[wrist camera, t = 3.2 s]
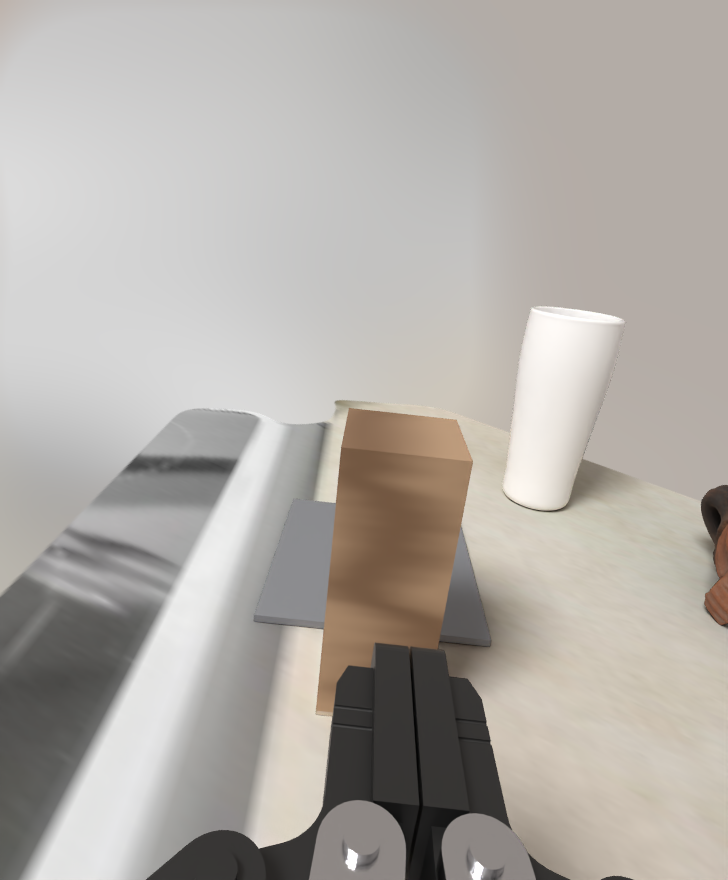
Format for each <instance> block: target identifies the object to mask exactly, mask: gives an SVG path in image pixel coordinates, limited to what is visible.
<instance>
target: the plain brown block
mask: <svg viewBox="0 0 728 880" xmlns="http://www.w3.org/2000/svg"><path fill="white" fill-rule="evenodd" d="M472 464H473V460H472V458H471V455H470V453H469V450H468V448H467V445H466V443H465V440H464V438H463V435H462V433H461V430H460V428H459V425H458V422H457V420H453V419H443V418H434V417H425V416H416V415H407V414H398V413H389V412H380V411H370V410H361V409H352V408H349V411H348V416H347V421H346V426H345V431H344V436H343V441H342V446H341V456H340V467H339V477H338V487H337V498H336V508H335V518H334V529H333V539H332V550H331V560H330V570H329V581H328V591H327V601H326V612H325V622H324V633H323V643H322V653H321V664H320V674H319V685H318V695H317V705H316V714H317V715H326V716H333V708H334V700H335V692H336V684H337V681H338V680H339V678H340V677H341V675H342V674H343V673H344V671H345V670H346V668H347V667H348V665H351V666H360V667H368V668H370V667H371V661H372V654H373V648H374V643H375V642H376V643H385V644H393V645H402V646H408V648H410V646H412V647H420V648H429V649H438V644H439V639H440V634H441V628H442V623H443V618H444V612H445V607H446V602H447V596H448V591H449V586H450V580H451V575H452V570H453V565H454V559H455V554H456V549H457V543H458V538H459V533H460V527H461V522H462V517H463V512H464V506H465V501H466V496H467V490H468V485H469V480H470V474H471V469H472Z"/></svg>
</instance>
